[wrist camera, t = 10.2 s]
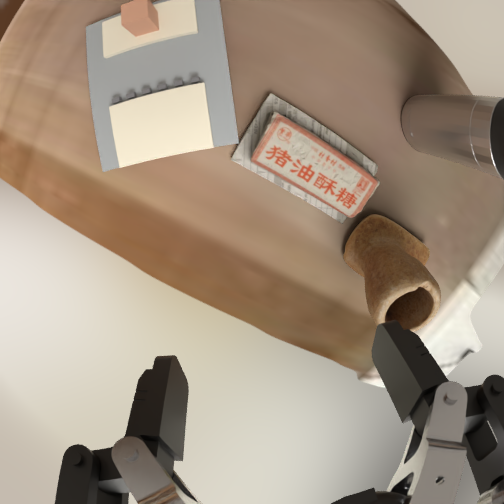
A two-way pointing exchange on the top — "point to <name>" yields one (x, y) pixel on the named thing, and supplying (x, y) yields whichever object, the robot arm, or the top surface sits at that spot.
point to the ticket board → (162, 93)
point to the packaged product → (307, 160)
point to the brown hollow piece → (393, 273)
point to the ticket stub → (148, 25)
